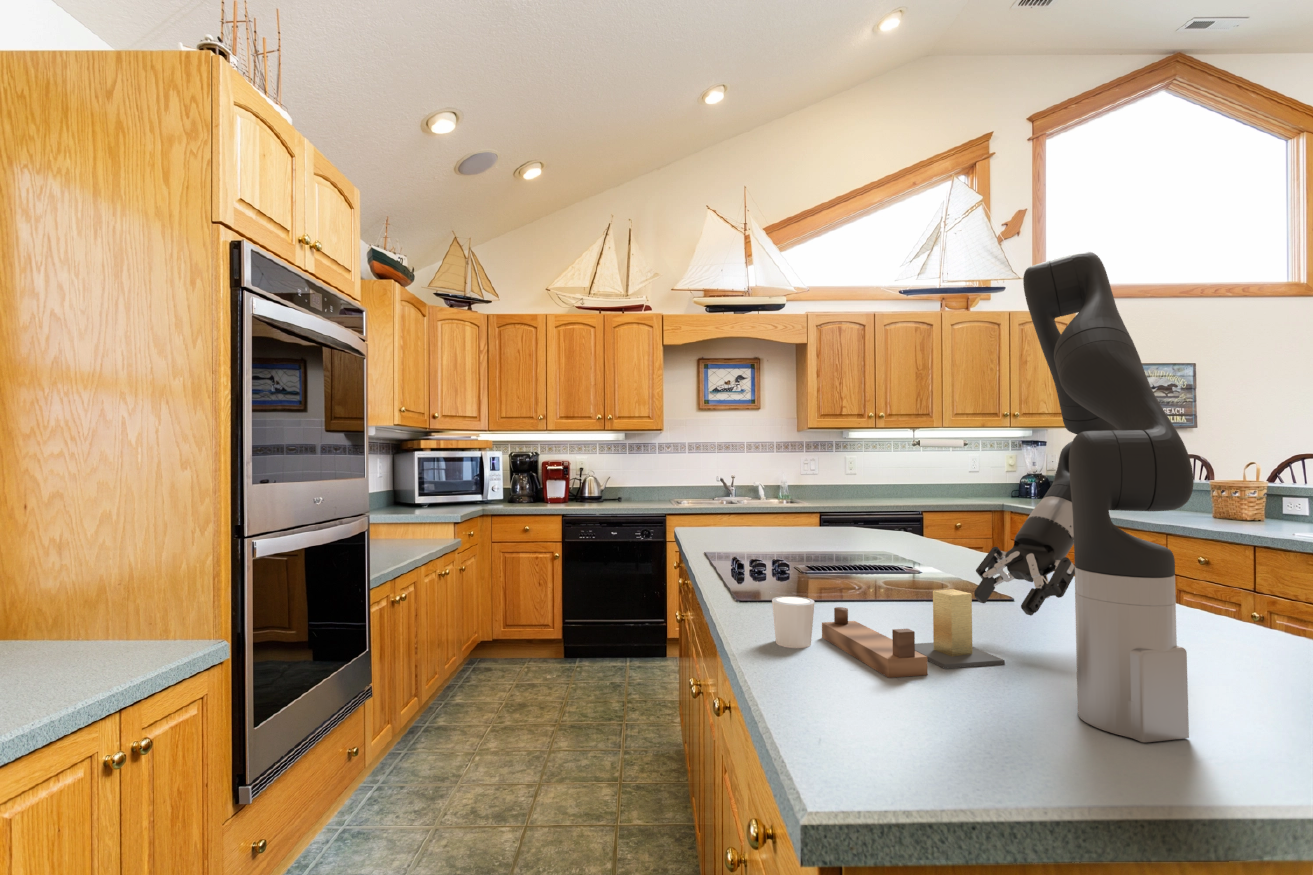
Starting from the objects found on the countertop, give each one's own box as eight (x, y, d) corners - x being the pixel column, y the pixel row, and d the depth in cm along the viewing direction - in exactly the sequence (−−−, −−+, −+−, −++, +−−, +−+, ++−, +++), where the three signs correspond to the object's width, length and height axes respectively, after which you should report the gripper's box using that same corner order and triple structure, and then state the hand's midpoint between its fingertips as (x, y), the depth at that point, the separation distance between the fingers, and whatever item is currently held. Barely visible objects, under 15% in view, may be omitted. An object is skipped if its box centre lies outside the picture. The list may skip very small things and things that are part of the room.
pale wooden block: (972, 653, 95) (971, 593, 96) (952, 656, 94) (951, 595, 94) (953, 647, 99) (952, 589, 99) (933, 649, 97) (932, 590, 98)
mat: (1004, 664, 92) (1004, 660, 92) (943, 668, 90) (943, 664, 90) (959, 644, 102) (959, 640, 102) (903, 648, 100) (903, 644, 100)
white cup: (819, 649, 99) (819, 604, 100) (775, 649, 100) (775, 604, 100) (809, 637, 106) (809, 595, 106) (768, 636, 106) (768, 595, 107)
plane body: (927, 674, 88) (927, 631, 88) (888, 677, 86) (887, 633, 87) (854, 635, 107) (854, 599, 108) (821, 637, 106) (821, 601, 106)
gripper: (1001, 511, 111) (952, 581, 106) (1081, 518, 98) (1030, 599, 93) (1023, 540, 113) (976, 611, 108) (1105, 551, 99) (1056, 632, 95)
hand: (1001, 605), depth 100 cm, fingers open, 8 cm apart
